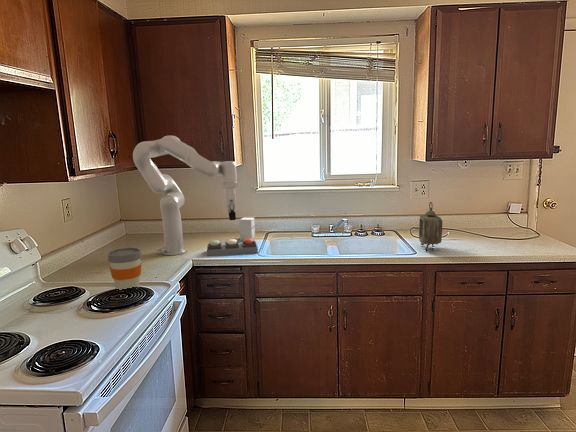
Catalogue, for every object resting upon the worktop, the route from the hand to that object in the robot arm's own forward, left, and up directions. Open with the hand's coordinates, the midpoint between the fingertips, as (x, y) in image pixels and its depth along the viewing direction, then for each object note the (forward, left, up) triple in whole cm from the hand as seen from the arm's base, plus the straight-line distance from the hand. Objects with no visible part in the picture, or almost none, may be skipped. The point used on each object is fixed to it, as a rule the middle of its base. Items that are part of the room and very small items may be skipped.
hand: (232, 218), depth 212 cm
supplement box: (+21, +16, -18) cm, 32 cm away
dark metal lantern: (+75, -71, -18) cm, 105 cm away
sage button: (-8, +5, -14) cm, 17 cm away
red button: (+7, -5, -14) cm, 16 cm away
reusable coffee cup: (-61, -12, -18) cm, 65 cm away
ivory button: (-1, 0, -14) cm, 14 cm away
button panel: (-1, 0, -18) cm, 18 cm away
